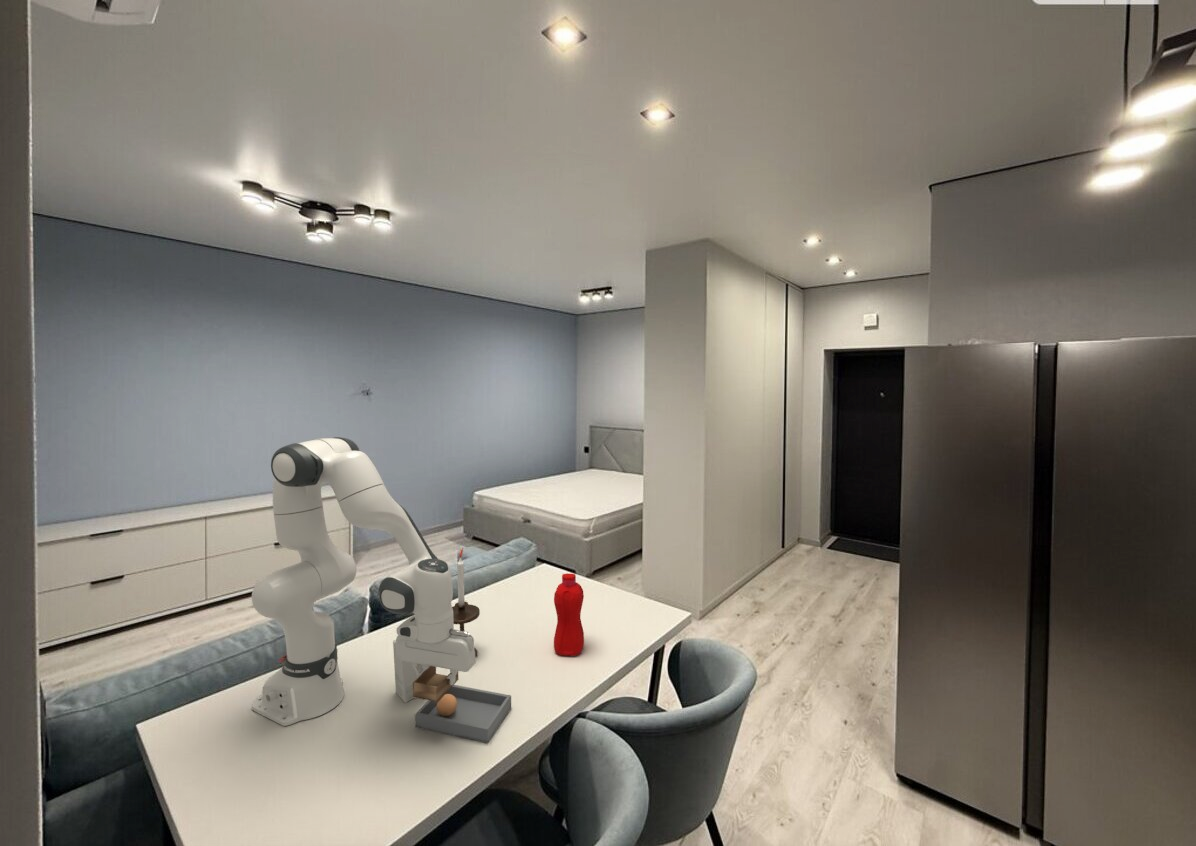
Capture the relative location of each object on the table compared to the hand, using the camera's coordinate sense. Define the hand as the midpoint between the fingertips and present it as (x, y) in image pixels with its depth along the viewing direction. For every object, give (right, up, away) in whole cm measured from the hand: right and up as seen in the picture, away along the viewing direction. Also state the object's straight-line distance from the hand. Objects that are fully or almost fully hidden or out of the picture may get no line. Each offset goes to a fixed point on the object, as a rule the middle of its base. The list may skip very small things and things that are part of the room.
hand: (436, 680), depth 120 cm
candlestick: (-3, -10, +33) cm, 35 cm away
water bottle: (+31, -10, +39) cm, 50 cm away
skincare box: (-11, -12, +16) cm, 23 cm away
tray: (+5, -13, +6) cm, 15 cm away
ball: (+1, -9, +6) cm, 11 cm away
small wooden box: (0, -2, 0) cm, 2 cm away
